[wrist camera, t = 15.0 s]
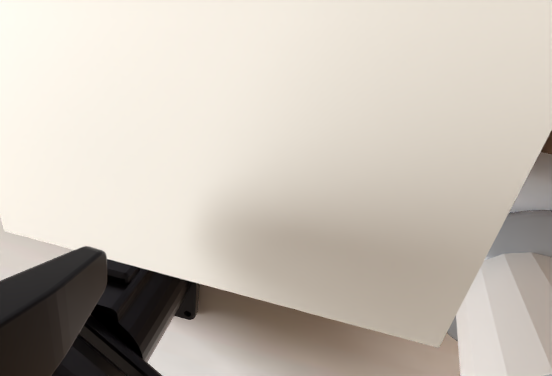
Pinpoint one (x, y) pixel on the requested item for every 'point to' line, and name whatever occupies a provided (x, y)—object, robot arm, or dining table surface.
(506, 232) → the coaster
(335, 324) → the dining table surface
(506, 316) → the white tapered cup
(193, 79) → the cubby
